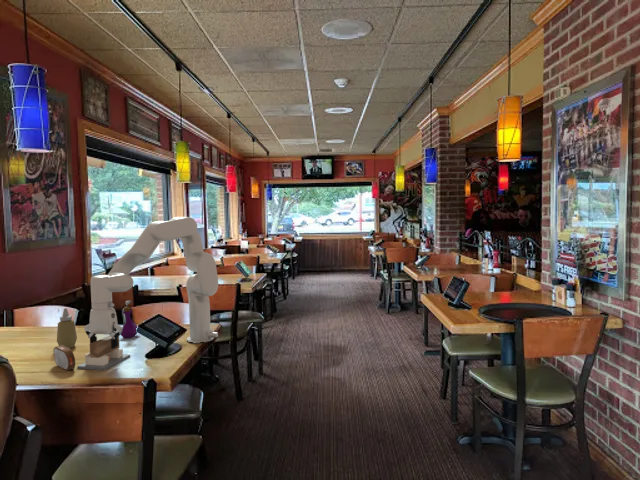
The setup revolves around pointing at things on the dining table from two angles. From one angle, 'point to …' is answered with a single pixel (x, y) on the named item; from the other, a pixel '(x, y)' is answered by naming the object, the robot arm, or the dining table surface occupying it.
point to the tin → (64, 357)
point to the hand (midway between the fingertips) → (104, 347)
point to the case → (101, 347)
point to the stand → (104, 360)
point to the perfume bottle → (128, 324)
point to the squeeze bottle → (66, 331)
